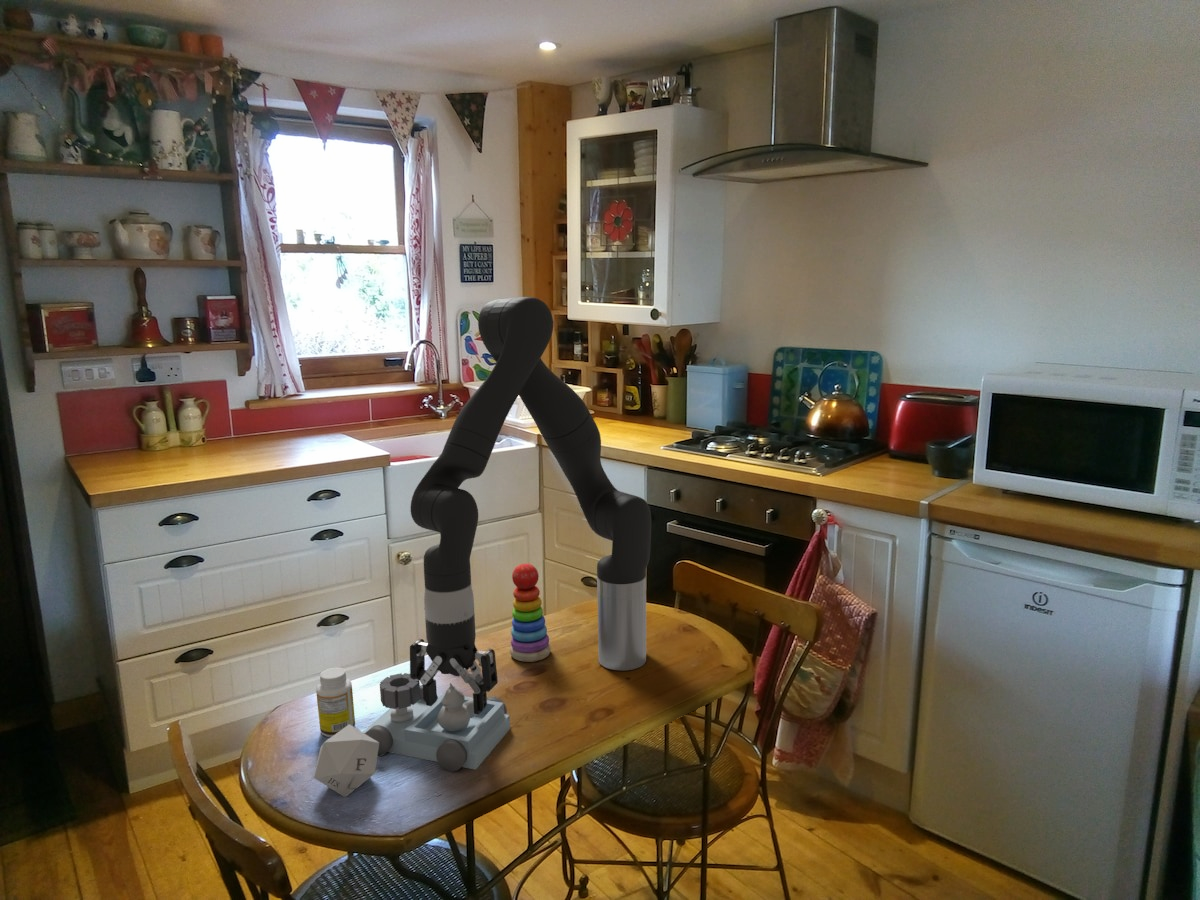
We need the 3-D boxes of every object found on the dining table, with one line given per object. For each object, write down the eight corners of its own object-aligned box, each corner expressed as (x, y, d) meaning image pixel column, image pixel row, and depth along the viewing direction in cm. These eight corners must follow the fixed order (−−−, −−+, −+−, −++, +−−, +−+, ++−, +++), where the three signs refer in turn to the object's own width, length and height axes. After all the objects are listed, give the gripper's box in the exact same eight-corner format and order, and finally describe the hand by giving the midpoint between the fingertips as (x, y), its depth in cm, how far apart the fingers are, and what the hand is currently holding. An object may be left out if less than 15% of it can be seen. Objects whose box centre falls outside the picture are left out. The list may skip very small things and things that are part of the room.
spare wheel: (395, 687, 137) (394, 671, 136) (426, 693, 135) (425, 676, 134) (374, 705, 131) (372, 688, 131) (406, 711, 129) (405, 693, 129)
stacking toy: (532, 642, 166) (529, 554, 162) (559, 654, 161) (556, 563, 157) (501, 655, 161) (498, 564, 157) (528, 667, 155) (525, 574, 151)
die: (308, 809, 116) (337, 768, 112) (301, 752, 122) (329, 711, 118) (364, 806, 121) (394, 767, 117) (355, 752, 127) (383, 713, 123)
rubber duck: (432, 725, 131) (429, 679, 129) (471, 713, 134) (469, 668, 133) (444, 741, 126) (441, 693, 125) (484, 728, 130) (482, 682, 128)
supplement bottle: (336, 718, 138) (331, 662, 136) (362, 724, 136) (357, 668, 134) (312, 735, 133) (307, 677, 131) (339, 742, 131) (334, 683, 129)
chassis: (409, 705, 142) (407, 672, 141) (514, 723, 136) (512, 689, 134) (356, 752, 128) (353, 716, 127) (470, 775, 122) (468, 738, 120)
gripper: (502, 608, 127) (506, 703, 131) (422, 597, 132) (428, 690, 135) (479, 627, 120) (484, 727, 124) (396, 615, 125) (403, 712, 128)
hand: (455, 707), depth 130 cm, fingers open, 8 cm apart
